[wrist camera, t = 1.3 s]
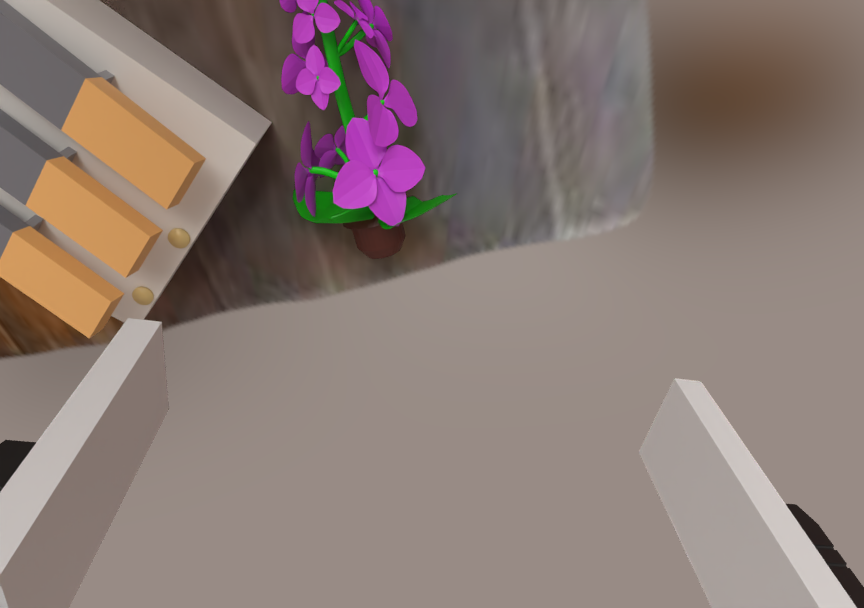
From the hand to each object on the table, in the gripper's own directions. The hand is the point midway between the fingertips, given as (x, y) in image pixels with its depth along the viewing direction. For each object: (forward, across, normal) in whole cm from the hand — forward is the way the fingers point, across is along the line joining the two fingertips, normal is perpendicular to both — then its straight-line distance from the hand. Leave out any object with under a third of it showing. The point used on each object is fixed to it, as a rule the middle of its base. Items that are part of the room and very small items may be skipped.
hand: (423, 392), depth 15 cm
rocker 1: (+28, -21, -2) cm, 35 cm away
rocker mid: (+28, -24, -8) cm, 38 cm away
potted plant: (+37, -7, +4) cm, 38 cm away
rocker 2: (+28, -27, -14) cm, 41 cm away
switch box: (+36, -24, -8) cm, 44 cm away
